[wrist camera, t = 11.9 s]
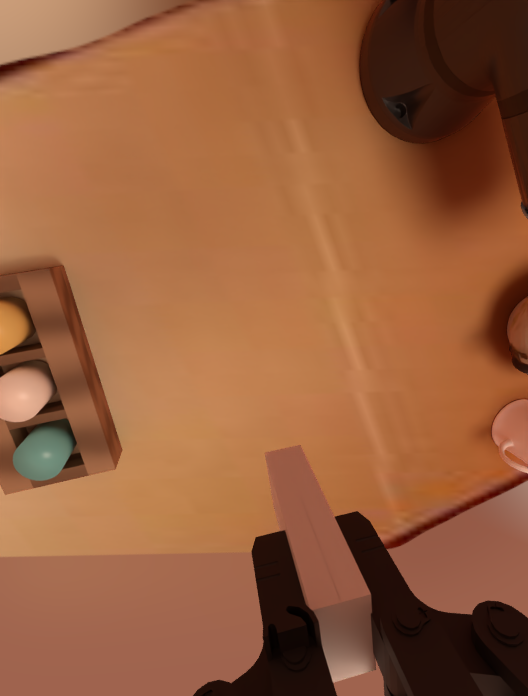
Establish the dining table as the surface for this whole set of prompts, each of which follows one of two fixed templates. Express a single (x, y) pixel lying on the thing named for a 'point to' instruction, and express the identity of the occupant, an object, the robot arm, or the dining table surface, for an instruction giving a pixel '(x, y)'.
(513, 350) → the sugar bowl
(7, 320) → the orange rounded ball
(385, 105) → the robot arm
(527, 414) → the mug
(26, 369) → the pink round piece
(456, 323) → the dining table surface
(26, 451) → the teal egg
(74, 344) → the wooden compartment tray
